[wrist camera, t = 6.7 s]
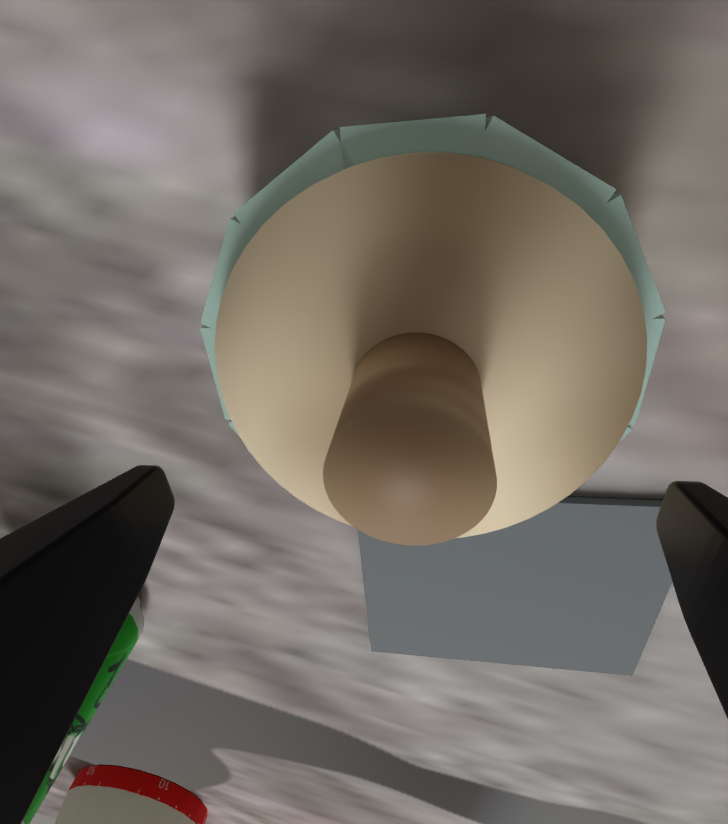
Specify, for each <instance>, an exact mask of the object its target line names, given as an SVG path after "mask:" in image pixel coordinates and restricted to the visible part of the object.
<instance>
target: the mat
mask: <svg viewBox="0 0 728 824" xmlns="http://www.w3.org/2000/svg"><path fill="white" fill-rule="evenodd" d="M662 502H663V500H638V499H612V498H585V497H566V498H564V499H563V500H561V501H560V502H558V503H557V504H555V505H554V506H552V507H551V508H549V509H547V510H545V511H543V512H541V513H539V514H537V515H535V516H533V517H531V518H529V519H527V520H524V521H522V522H519V523H517V524H514V525H512V526H509V527H506V528H503V529H499V530H496V531H492V532H489V533H485V534H479V535H474V536H468V537H463V538H454V539H451V540H449V541H445V542H442V543H437V544H431V545H421V546H415V545H400V544H395V543H389V542H386V541H382V540H379V539H376V538H374V537H371V536H369V535H367V534H365V533H363V532H361V531H360V530H358V535H359V544H360V553H361V562H362V571H363V580H364V588H365V597H366V606H367V615H368V624H369V633H370V641H371V650H372V651H375V652H385V653H396V654H407V655H417V656H428V657H439V658H449V659H460V660H471V661H481V662H492V663H503V664H513V665H524V666H535V667H545V668H556V669H567V670H577V671H588V672H599V673H609V674H620V675H631V676H632V675H633V673H634V670H635V668H636V666H637V663H638V661H639V659H640V656H641V654H642V651H643V649H644V647H645V644H646V642H647V640H648V637H649V635H650V633H651V630H652V628H653V626H654V623H655V621H656V619H657V616H658V614H659V612H660V609H661V607H662V605H663V602H664V600H665V598H666V595H667V593H668V591H669V588H670V586H671V584H672V579H671V575H670V572H669V569H668V566H667V562H666V559H665V556H664V553H663V549H662V546H661V543H660V540H659V537H658V533H657V528H656V520H657V515H658V513H659V510H660V507H661V504H662Z"/></svg>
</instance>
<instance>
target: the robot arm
mask: <svg viewBox="0 0 728 824" xmlns="http://www.w3.org/2000/svg"><path fill="white" fill-rule="evenodd" d="M174 503H175V501H174V496H173V493H172V491H171V488H170V486H169V483H168V480H167V478H166V475H165V473H164V471H163V469H162V468H161V467H159V466H152V465H140V466H136V467H134V468H132V469H131V470H129V471H127V472H125V473H123V474H121V475H119V476H117V477H115V478H114V479H112V480H110V481H108V482H106V483H104V484H102V485H100V486H99V487H97V488H95V489H93V490H91V491H89V492H87V493H85V494H83V495H82V496H80V497H78V498H76V499H74V500H72V501H70V502H68V503H67V504H65V505H63V506H61V507H59V508H57V509H55V510H53V511H51V512H50V513H48V514H46V515H44V516H42V517H40V518H38V519H36V520H34V521H33V522H31V523H29V524H27V525H25V526H23V527H21V528H19V529H18V530H16V531H14V532H12V533H10V534H8V535H6V536H4V537H2V538H1V539H0V824H21V823H22V821H23V819H24V817H25V815H26V813H27V811H28V809H29V807H30V805H31V803H32V801H33V799H34V797H35V795H36V794H37V792H38V790H39V788H40V786H41V784H42V782H43V780H44V778H45V776H46V774H47V772H48V770H49V768H50V766H51V764H52V762H53V760H54V758H55V757H56V755H57V753H58V751H59V749H60V747H61V745H62V743H63V741H64V739H65V737H66V735H67V733H68V731H69V729H70V727H71V725H72V723H73V721H74V719H75V718H76V716H77V714H78V712H79V710H80V708H81V706H82V704H83V702H84V700H85V698H86V696H87V694H88V692H89V690H90V688H91V686H92V684H93V682H94V681H95V679H96V677H97V675H98V673H99V671H100V669H101V667H102V665H103V663H104V661H105V659H106V657H107V655H108V653H109V651H110V649H111V647H112V645H113V643H114V642H115V640H116V638H117V636H118V634H119V632H120V630H121V628H122V626H123V624H124V622H125V620H126V618H127V616H128V614H129V612H130V610H131V608H132V606H133V604H134V603H135V601H136V599H137V597H138V595H139V593H140V591H141V589H142V587H143V584H144V582H145V580H146V578H147V576H148V573H149V571H150V569H151V566H152V563H153V561H154V558H155V556H156V553H157V551H158V548H159V546H160V543H161V541H162V538H163V535H164V533H165V530H166V528H167V525H168V523H169V520H170V518H171V515H172V513H173V510H174ZM656 528H657V533H658V537H659V540H660V543H661V546H662V549H663V553H664V556H665V559H666V562H667V566H668V569H669V572H670V575H671V579H672V582H673V585H674V588H675V591H676V595H677V598H678V601H679V604H680V607H681V610H682V613H683V616H684V619H685V621H686V624H687V626H688V629H689V631H690V634H691V636H692V638H693V641H694V643H695V645H696V648H697V650H698V652H699V654H700V657H701V659H702V661H703V663H704V666H705V668H706V670H707V673H708V675H709V677H710V679H711V682H712V684H713V686H714V689H715V691H716V693H717V695H718V698H719V700H720V702H721V705H722V707H723V709H724V711H725V714H726V716H727V718H728V498H727V497H726V496H724V495H722V494H721V493H719V492H717V491H716V490H714V489H712V488H711V487H709V486H707V485H706V484H704V483H701V482H691V481H675V482H672V483H671V484H670V485H669V486H668V488H667V490H666V493H665V496H664V499H663V502H662V504H661V507H660V510H659V513H658V515H657V520H656Z"/></svg>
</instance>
